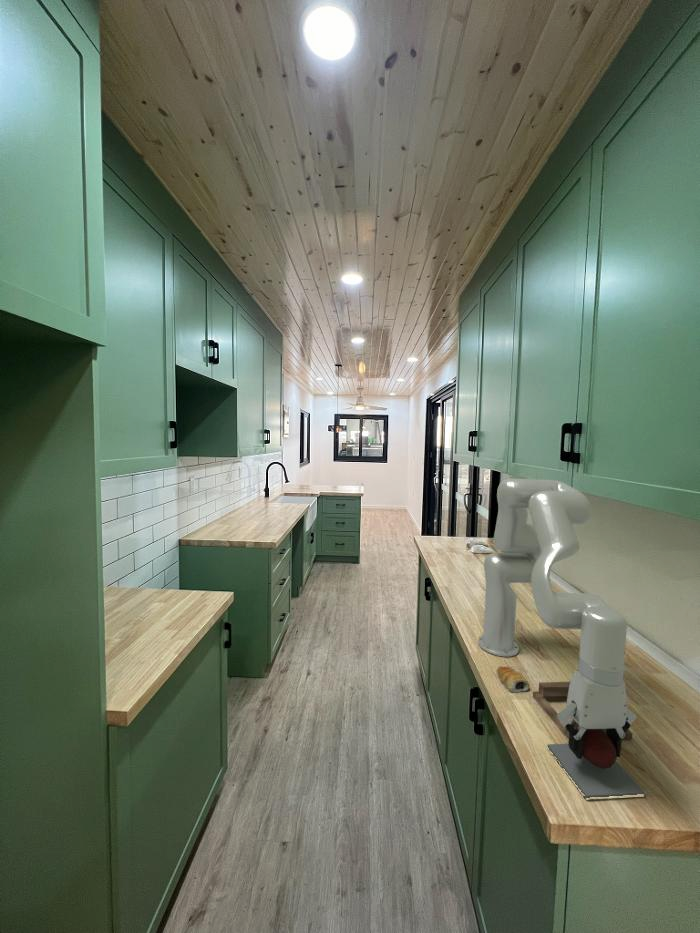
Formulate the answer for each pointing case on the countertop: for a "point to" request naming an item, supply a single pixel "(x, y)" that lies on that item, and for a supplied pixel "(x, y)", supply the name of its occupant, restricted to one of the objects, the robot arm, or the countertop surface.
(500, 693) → the countertop surface
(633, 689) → the countertop surface
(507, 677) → the pastry
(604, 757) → the potato
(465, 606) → the countertop surface
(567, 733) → the holder
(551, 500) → the robot arm
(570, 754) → the mat
